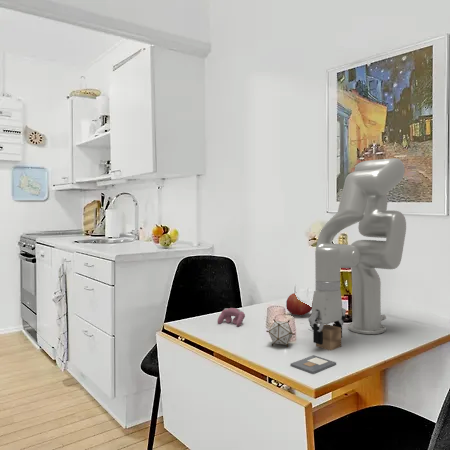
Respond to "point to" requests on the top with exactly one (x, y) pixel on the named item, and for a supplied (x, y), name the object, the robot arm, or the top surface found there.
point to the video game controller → (230, 312)
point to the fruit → (297, 306)
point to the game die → (280, 332)
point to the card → (313, 364)
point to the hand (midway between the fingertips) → (328, 340)
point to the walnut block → (330, 337)
